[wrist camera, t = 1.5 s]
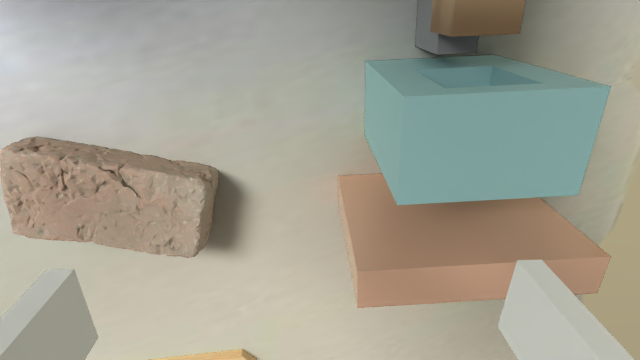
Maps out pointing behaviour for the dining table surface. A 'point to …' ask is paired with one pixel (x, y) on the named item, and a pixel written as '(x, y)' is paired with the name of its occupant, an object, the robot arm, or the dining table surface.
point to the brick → (107, 196)
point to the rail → (439, 35)
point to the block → (479, 128)
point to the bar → (476, 17)
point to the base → (455, 246)
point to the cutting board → (215, 356)
